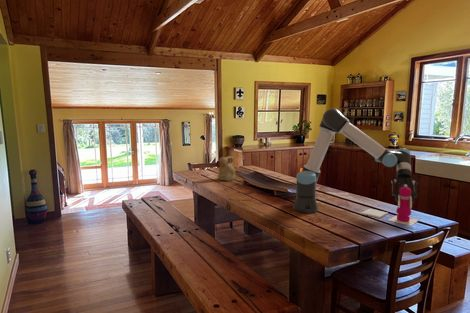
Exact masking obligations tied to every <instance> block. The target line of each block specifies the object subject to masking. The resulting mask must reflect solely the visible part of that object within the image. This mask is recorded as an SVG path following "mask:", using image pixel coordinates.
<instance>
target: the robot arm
mask: <svg viewBox="0 0 470 313" xmlns="http://www.w3.org/2000/svg"><path fill="white" fill-rule="evenodd" d="M318 126H319V132H318V135H317V138H316V140H315V142H314V145H313V146H312V147H313V148H312V150H311V152H310V155H309V157H308V160H307V162H306V164H304V165H303V166H302V167H301V168H302V171H301V172H300V171H299V172H298V173H297V174H296V177H295V179H296V188H295V189H296V192H295V193H296V196H295V199H294V201H293V202H294V203H293V206H292V209H293V210H294V211H295V212H297V213H303V214H312V213H316V212H318V211H319V205H318V203H317V199H316V191H317V190H316V189H317V188H316V187H317V183H318V180H319V177H320V175H321V169H320V168H321V166H322V163H323V161H324V159H325V156H326V154H327V151H328V149H329V146H330V144H331V142H332V139H333V137H334V135H335V134H337V133H338V134H341V135H343V136H345V137H346V138H347V139H348V140H350V141H352V142H353V143H354V144H356V145H357V146H359V147H360V148H361V149H362V150H364V151H365V152H367V153H368V154H370V155H371V156H372V157H373V158H374V161H375V162H377V163H382V164H383V165H384V166H385V167H388V168H392V167H394V166H396V178H395V179H394V178H391V182H390V183H391V196H392V197H393V196H394V197H395V202H397V207H398V208H400V193H399V190H400V188H402V187H404V185H405V184H406V185H407V187H408V188H410V189H411V195H410V199H409V207H410V209H412V207H413V204H414V202H415V198H418V182H419V181H418V180H414V179H413V178H412V163H411V162H412V161H411V160H412V159H411V158H412V156H411V152H410V150H409V149H407V148H403V147H402V148H398V149H397V150H396V151H393V150H392V151H391V150H388V149H387V148H386V147H384V146H383V145H382V144H380V143H379V142H378V141H376V140H374V138H372V137H371V136H369V135H368V134H366V133H364V132H363V131H362V130H360V129H359V128H358V127H357V126H355V125H354V124H352V123H351V122H350V119H349V118H347V117H346V116H345V115H344V114H343V113H342V112H341V111H340V110H339V109H337V108H328V109H327V110H326V111H324V113H323V115H322V118H321V121H320V123H319V125H318ZM396 183H397V184H398V187H397V189H396ZM411 184H412V185H413V189H412V186H411Z"/></svg>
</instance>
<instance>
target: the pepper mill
mask: <svg viewBox="0 0 470 313" xmlns="http://www.w3.org/2000/svg"><path fill="white" fill-rule="evenodd" d="M411 189H412V188H411ZM411 189H410V188H408V187H407V185H406V184H405V185H404V186H401V188H400V190H399V195H400V208H398V206H397V208H396V214H397V219H398V220H400V221H409V220H410V218H411V217H410V216H411V215H412V210H411V209H412V208H411V209H410V202H409V199H410V195H411Z"/></svg>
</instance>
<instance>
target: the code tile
mask: <svg viewBox="0 0 470 313" xmlns="http://www.w3.org/2000/svg"><path fill="white" fill-rule="evenodd" d="M397 215H398V214H397ZM397 215H394V216H392V217H391V218H389V219H387V221H389V222H393V223H396V224H401V225H406V226H410V227H411V226H413V225H415V224H416V223H418V222H419V221H420V220H419V219H416V218H411V217H410V220H409V221H400V220H398V219H397Z"/></svg>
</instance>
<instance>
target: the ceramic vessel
mask: <svg viewBox="0 0 470 313" xmlns="http://www.w3.org/2000/svg"><path fill="white" fill-rule="evenodd" d="M233 155H234V152H233V151H229V156H226V157H225V156H221V157H219V160H218V161H219V167H218V172H219V173H218V175H217V179H218V180H220V181H226V182H229V181H234V180H235V178H236V177H235V176H236V169H235V167H234V163H235V162H234V161H235V160H234V156H233ZM229 160H230V162H229Z"/></svg>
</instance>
